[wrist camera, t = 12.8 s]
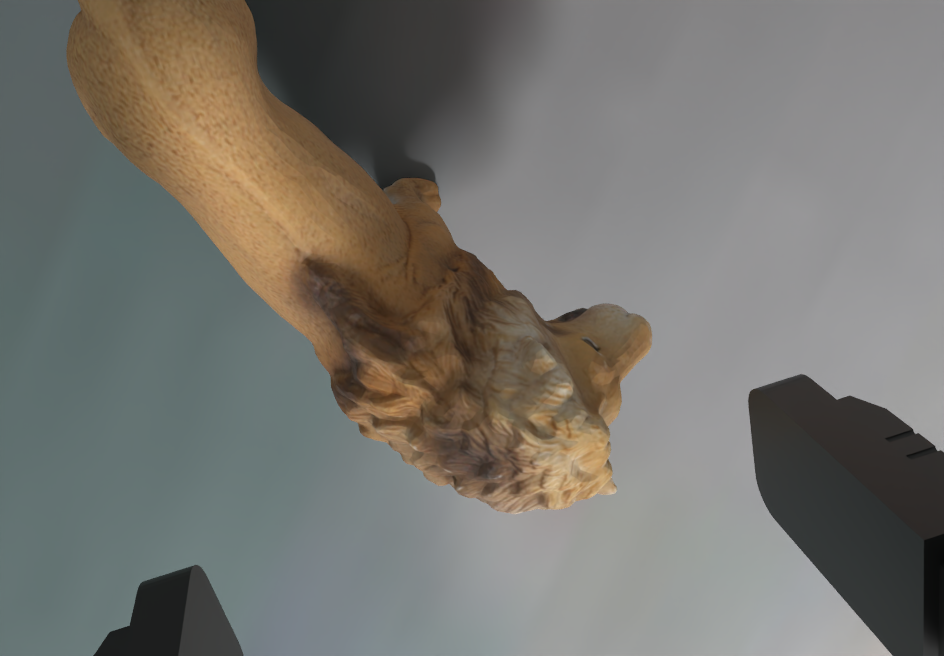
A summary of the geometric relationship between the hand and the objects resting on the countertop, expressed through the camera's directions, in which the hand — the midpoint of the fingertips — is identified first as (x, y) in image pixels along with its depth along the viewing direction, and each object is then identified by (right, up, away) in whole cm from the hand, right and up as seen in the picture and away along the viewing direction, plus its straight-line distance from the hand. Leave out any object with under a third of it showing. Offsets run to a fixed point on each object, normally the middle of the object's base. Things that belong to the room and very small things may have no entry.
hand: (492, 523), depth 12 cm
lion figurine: (-4, +7, +8) cm, 12 cm away
